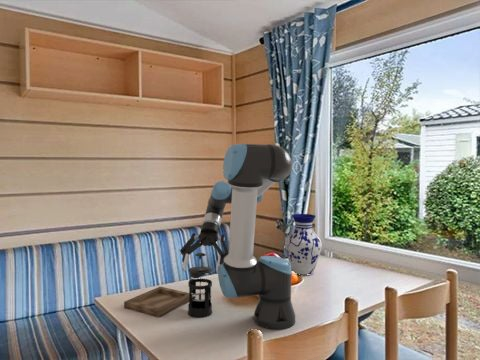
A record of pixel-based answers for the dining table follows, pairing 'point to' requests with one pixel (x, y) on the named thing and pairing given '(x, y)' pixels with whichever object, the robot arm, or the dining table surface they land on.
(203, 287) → the french press
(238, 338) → the dining table surface
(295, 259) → the vase
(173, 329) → the dining table surface
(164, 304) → the walnut tray
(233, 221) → the robot arm
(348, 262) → the dining table surface
